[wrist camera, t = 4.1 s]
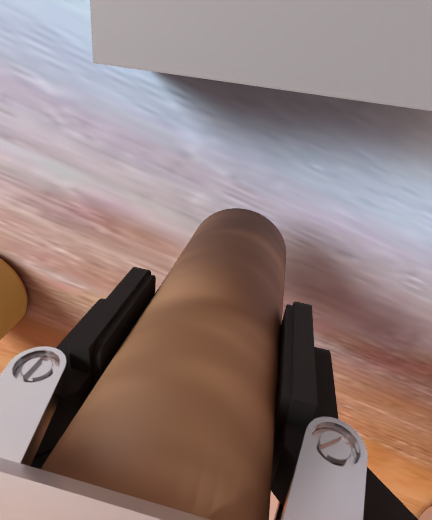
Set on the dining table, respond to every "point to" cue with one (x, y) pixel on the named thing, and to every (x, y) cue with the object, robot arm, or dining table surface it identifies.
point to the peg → (193, 382)
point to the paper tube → (11, 298)
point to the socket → (277, 44)
